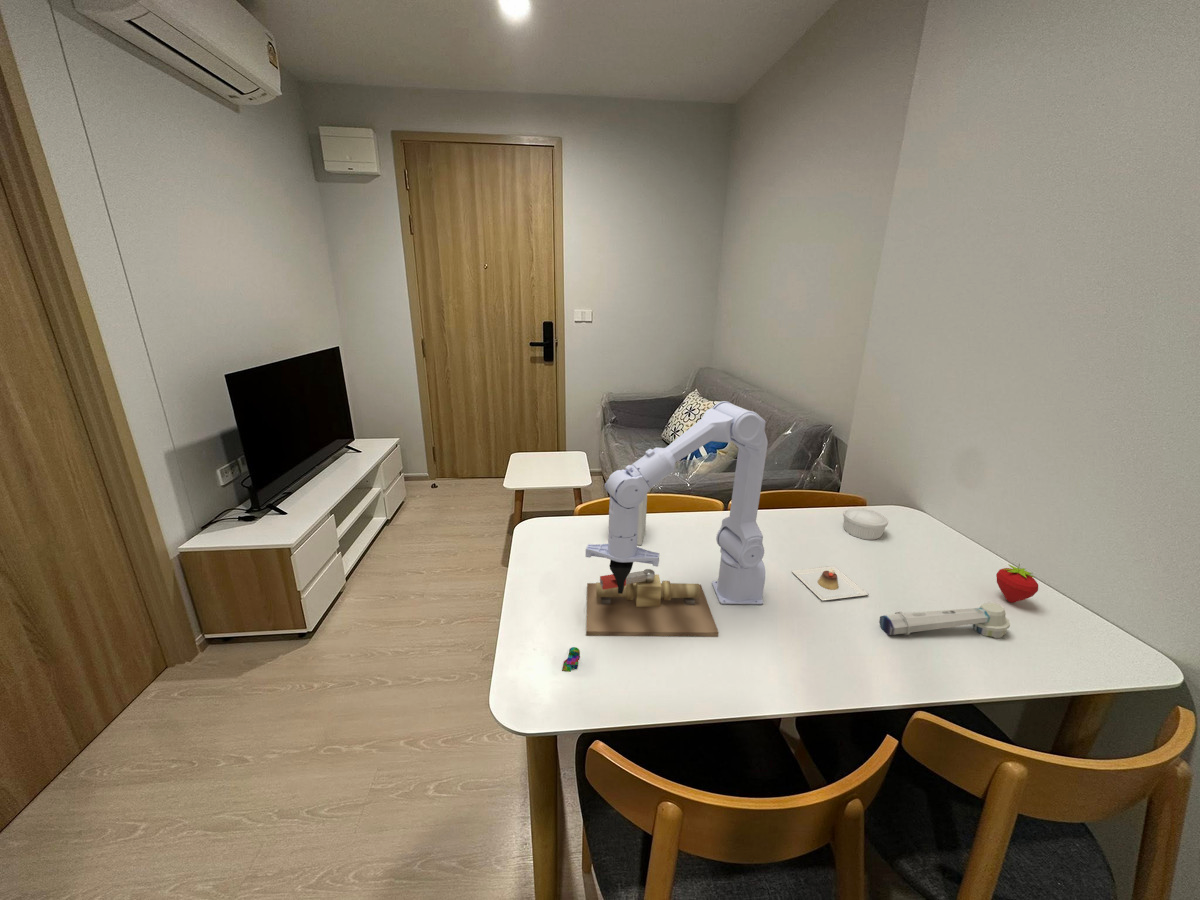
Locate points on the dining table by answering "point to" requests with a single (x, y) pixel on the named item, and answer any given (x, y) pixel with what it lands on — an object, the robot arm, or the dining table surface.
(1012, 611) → the dining table surface
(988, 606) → the toothbrush head
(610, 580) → the valve lever
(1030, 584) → the strawberry
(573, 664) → the puzzle cube
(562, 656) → the dining table surface
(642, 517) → the supplement box
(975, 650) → the dining table surface
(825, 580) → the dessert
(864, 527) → the ramekin
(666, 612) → the valve board
